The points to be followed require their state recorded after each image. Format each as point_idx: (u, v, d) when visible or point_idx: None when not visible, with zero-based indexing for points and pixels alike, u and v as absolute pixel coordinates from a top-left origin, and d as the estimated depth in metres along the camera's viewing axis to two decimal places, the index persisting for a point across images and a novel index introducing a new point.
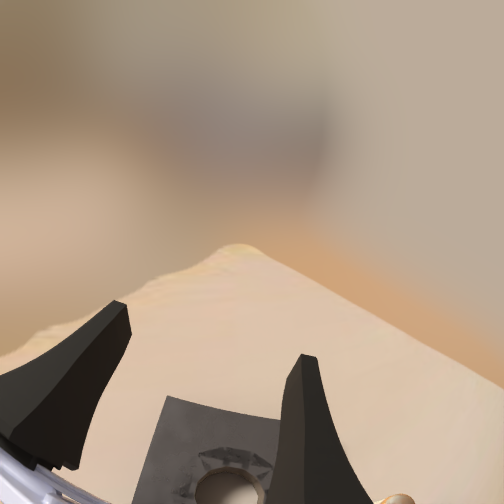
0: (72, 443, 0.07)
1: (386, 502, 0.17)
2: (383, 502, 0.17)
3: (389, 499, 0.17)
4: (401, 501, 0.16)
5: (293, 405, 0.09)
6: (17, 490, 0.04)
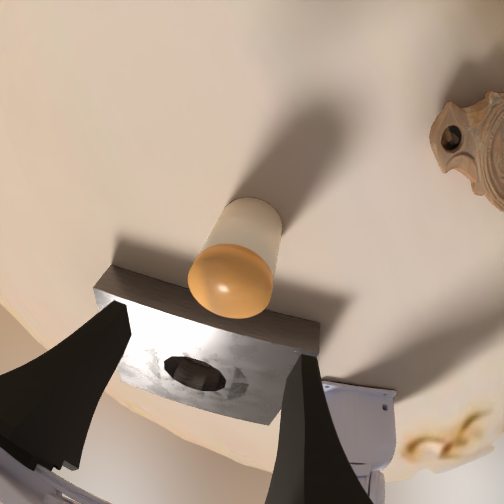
0: (72, 443, 0.07)
1: (200, 300, 0.15)
2: None
3: (195, 294, 0.15)
4: (204, 277, 0.14)
5: (293, 405, 0.09)
6: (17, 490, 0.04)
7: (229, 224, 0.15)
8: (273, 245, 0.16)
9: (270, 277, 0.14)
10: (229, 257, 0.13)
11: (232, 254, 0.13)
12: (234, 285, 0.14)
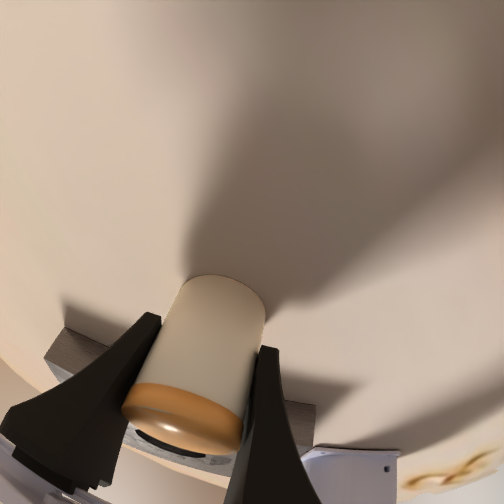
0: (107, 461, 0.07)
1: (146, 431, 0.09)
2: None
3: (138, 426, 0.09)
4: (143, 419, 0.08)
5: (251, 397, 0.10)
6: (17, 490, 0.04)
7: (177, 337, 0.09)
8: (246, 365, 0.10)
9: (237, 429, 0.08)
10: (168, 413, 0.07)
11: (173, 410, 0.07)
12: (184, 433, 0.08)
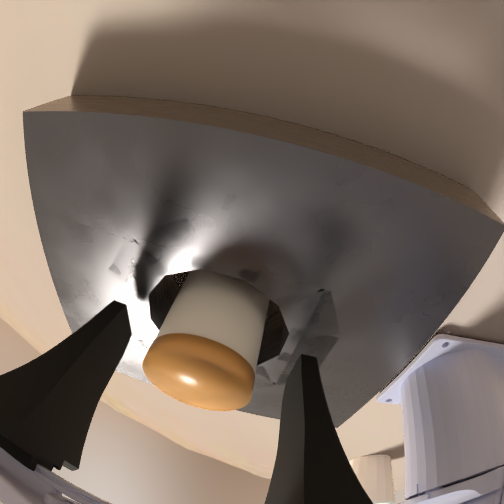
0: (72, 443, 0.07)
1: (162, 388, 0.11)
2: None
3: (155, 382, 0.10)
4: (163, 371, 0.10)
5: (293, 405, 0.09)
6: (17, 490, 0.04)
7: (197, 295, 0.11)
8: (257, 323, 0.11)
9: (250, 377, 0.09)
10: (191, 358, 0.09)
11: (196, 355, 0.09)
12: (201, 384, 0.10)
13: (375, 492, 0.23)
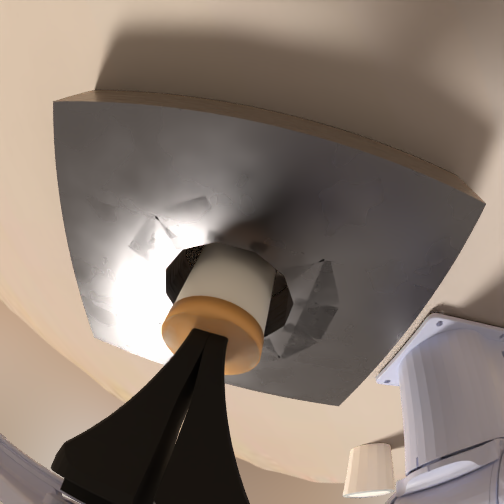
0: (160, 482, 0.07)
1: None
2: None
3: (171, 347, 0.12)
4: (180, 333, 0.11)
5: None
6: (17, 490, 0.04)
7: (212, 265, 0.12)
8: (265, 291, 0.13)
9: (260, 337, 0.11)
10: (208, 316, 0.10)
11: (213, 312, 0.10)
12: None
13: (376, 480, 0.24)
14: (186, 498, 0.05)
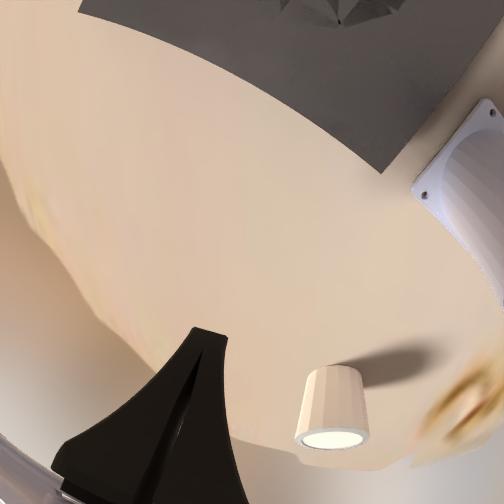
0: (160, 482, 0.07)
1: None
2: None
3: None
4: None
5: None
6: (17, 490, 0.04)
7: None
8: None
9: None
10: None
11: None
12: None
13: (351, 414, 0.21)
14: (185, 498, 0.05)
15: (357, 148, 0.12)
